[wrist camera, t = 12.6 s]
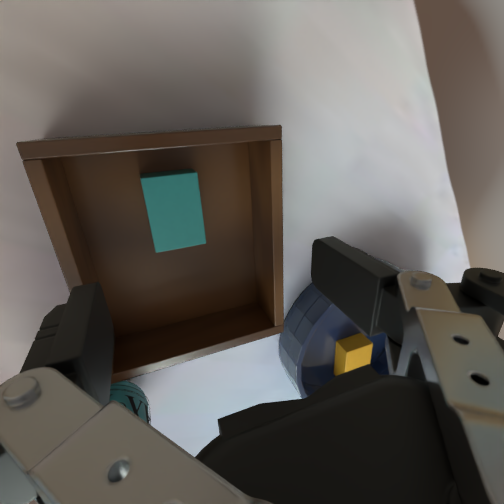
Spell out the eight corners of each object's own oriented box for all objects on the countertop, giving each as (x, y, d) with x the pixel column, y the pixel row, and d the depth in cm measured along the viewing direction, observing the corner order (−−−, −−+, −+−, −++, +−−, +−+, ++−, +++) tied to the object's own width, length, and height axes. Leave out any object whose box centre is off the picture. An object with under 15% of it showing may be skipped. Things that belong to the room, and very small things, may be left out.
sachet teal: (139, 173, 19) (140, 178, 18) (192, 168, 20) (197, 172, 19) (153, 243, 21) (155, 253, 20) (200, 234, 23) (206, 243, 21)
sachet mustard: (335, 340, 33) (346, 352, 31) (361, 332, 34) (373, 343, 32) (333, 373, 35) (343, 386, 33) (357, 364, 36) (368, 376, 34)
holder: (41, 139, 17) (14, 142, 13) (254, 125, 21) (282, 124, 18) (108, 343, 24) (103, 387, 20) (262, 303, 28) (284, 332, 24)
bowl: (277, 277, 27) (297, 297, 24) (417, 244, 33) (449, 257, 29) (279, 405, 34) (295, 434, 31) (394, 360, 40) (418, 381, 36)
